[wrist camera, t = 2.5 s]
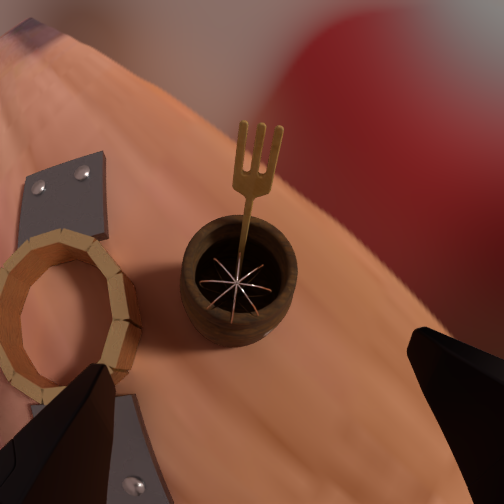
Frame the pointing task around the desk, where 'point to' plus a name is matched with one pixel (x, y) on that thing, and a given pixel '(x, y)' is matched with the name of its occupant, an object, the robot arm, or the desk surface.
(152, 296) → the desk surface
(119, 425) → the wooden ring bracket
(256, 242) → the utensil holder
